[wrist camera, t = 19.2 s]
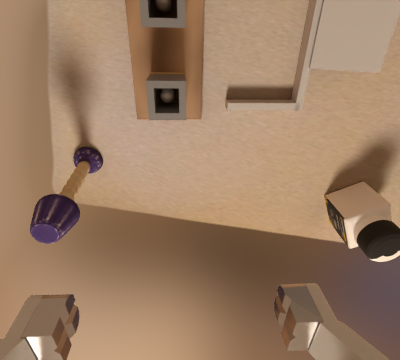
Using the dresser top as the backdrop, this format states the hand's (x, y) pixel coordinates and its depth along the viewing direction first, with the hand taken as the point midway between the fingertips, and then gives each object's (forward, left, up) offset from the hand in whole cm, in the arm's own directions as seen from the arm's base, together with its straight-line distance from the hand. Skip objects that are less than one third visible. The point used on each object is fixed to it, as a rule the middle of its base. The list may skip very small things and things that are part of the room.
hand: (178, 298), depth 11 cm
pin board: (+1, -8, -31) cm, 32 cm away
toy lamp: (+14, +9, -31) cm, 35 cm away
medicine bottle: (-30, +18, -31) cm, 47 cm away
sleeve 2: (+1, -2, -30) cm, 30 cm away
